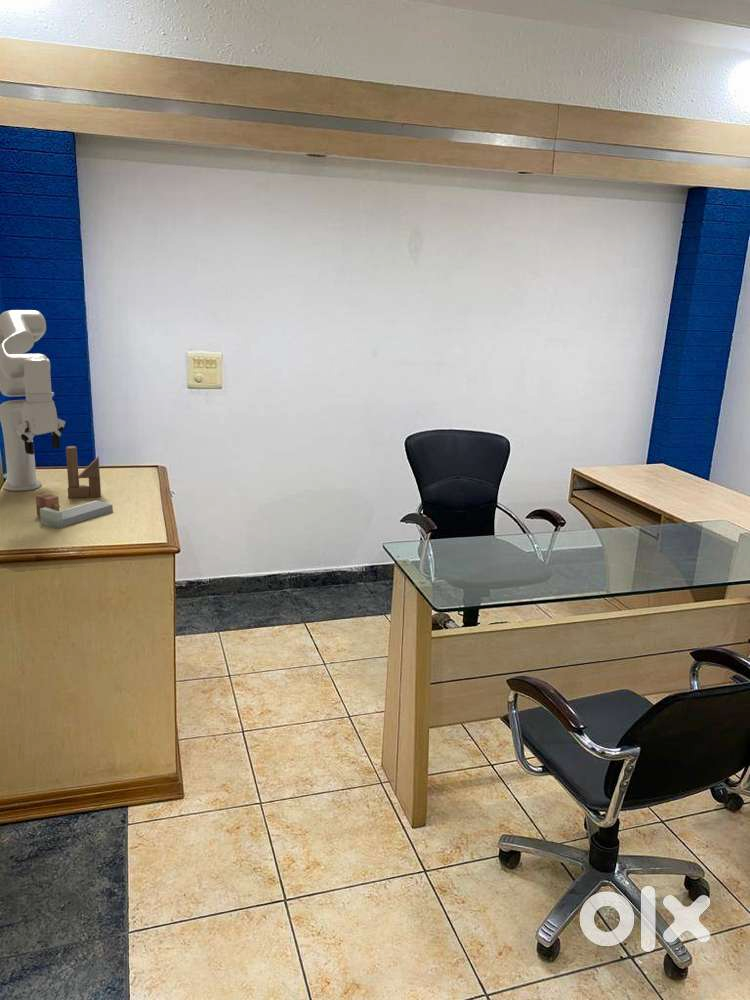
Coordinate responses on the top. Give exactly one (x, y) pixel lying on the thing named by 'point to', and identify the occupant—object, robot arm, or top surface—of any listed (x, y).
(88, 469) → the brown forked upright piece
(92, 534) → the top surface
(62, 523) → the grey board
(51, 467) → the top surface
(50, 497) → the brown block
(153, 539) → the top surface
